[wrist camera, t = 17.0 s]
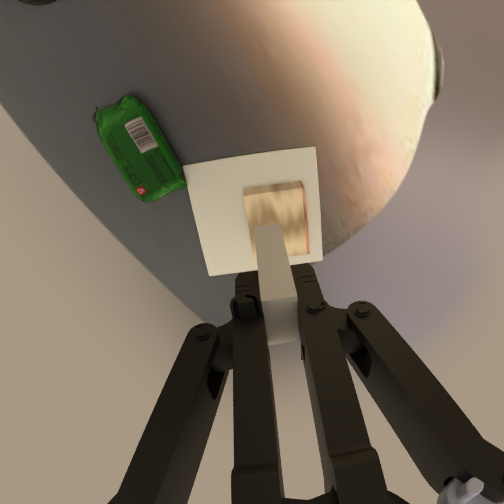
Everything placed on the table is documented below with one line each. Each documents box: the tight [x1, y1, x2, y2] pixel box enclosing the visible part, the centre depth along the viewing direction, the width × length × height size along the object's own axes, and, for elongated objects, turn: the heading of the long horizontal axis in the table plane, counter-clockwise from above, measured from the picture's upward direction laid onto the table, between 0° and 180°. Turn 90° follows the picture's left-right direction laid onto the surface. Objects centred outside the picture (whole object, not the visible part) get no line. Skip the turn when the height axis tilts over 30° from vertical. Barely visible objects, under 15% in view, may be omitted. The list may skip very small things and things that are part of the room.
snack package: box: [92, 95, 187, 202], centre depth 39 cm, size 7×16×5 cm, turn 26°
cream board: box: [183, 146, 323, 276], centre depth 46 cm, size 18×18×1 cm
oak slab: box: [243, 181, 310, 262], centre depth 45 cm, size 10×3×8 cm
